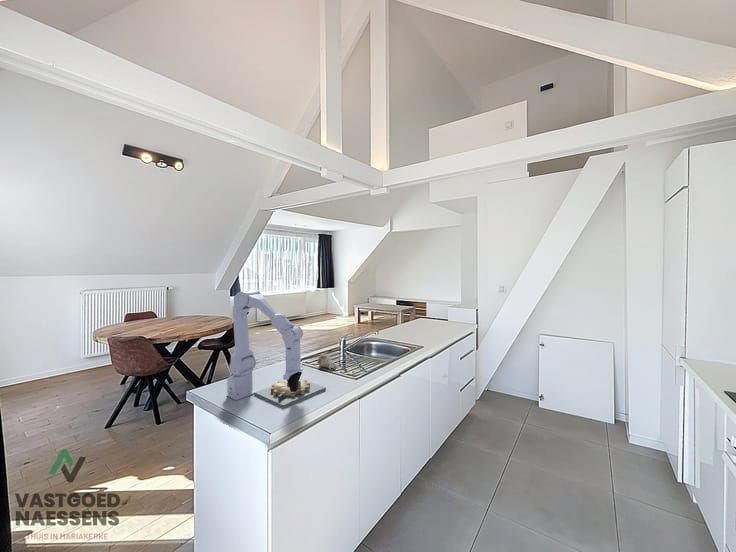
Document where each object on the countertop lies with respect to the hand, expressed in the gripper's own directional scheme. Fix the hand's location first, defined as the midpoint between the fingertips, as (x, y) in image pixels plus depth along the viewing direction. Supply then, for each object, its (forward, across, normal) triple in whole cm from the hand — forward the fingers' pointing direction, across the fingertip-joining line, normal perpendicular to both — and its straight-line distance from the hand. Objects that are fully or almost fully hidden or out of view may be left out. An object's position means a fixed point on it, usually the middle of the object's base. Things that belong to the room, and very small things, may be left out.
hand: (293, 391), depth 123 cm
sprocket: (+2, +8, +5) cm, 10 cm away
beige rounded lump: (+4, +43, -1) cm, 43 cm away
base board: (+4, +8, +5) cm, 10 cm away
